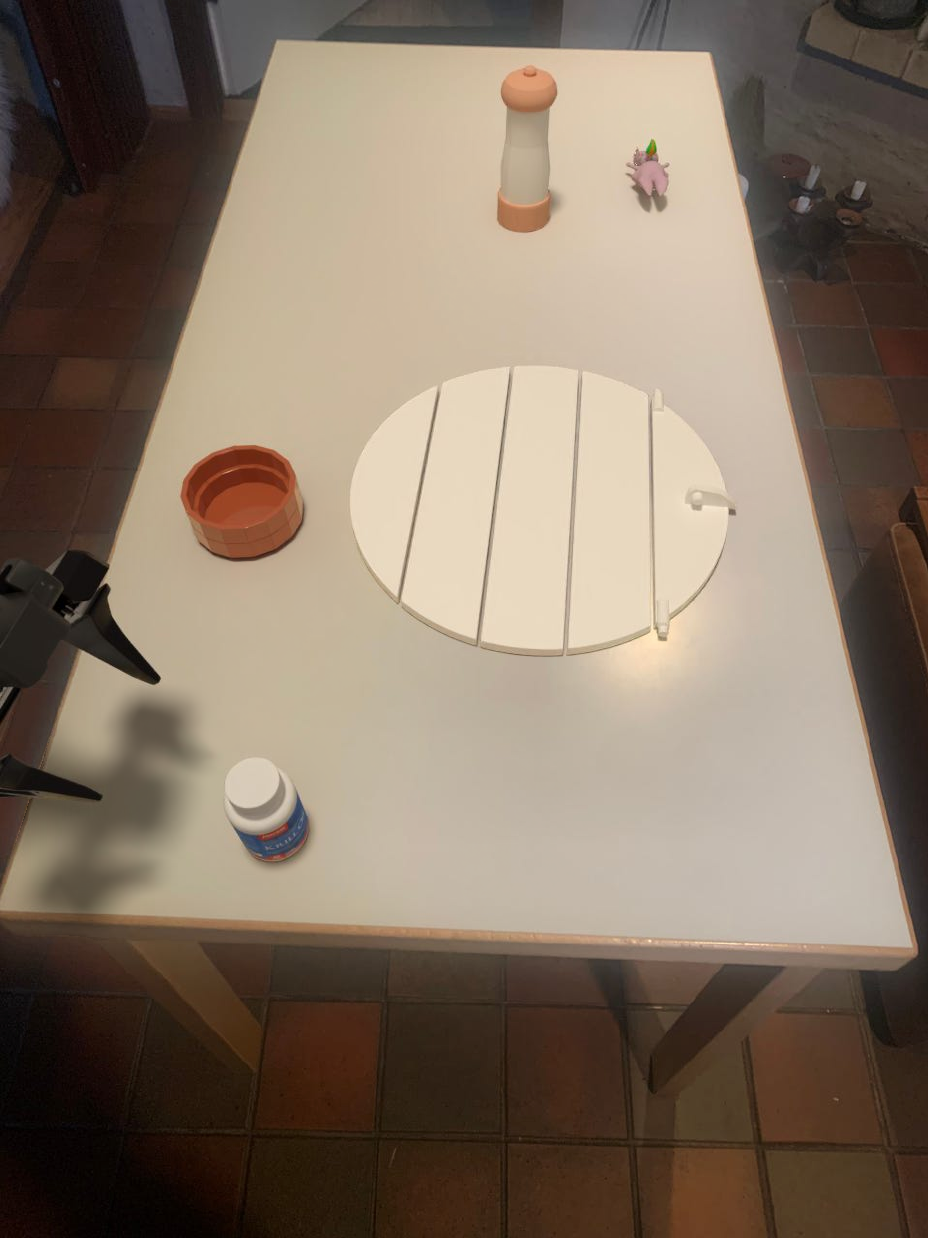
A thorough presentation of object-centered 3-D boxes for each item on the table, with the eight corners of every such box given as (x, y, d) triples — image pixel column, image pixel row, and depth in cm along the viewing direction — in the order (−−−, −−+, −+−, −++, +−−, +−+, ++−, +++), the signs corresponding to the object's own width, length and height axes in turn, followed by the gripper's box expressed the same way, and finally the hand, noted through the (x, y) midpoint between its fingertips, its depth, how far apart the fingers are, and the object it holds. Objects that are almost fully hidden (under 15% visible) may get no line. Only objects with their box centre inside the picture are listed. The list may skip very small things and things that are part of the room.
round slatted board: (723, 385, 98) (730, 361, 95) (748, 675, 76) (758, 655, 73) (384, 363, 101) (381, 339, 98) (315, 636, 79) (309, 615, 76)
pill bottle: (277, 876, 66) (249, 834, 58) (229, 836, 68) (196, 790, 60) (324, 823, 69) (303, 775, 61) (277, 786, 71) (251, 735, 63)
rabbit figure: (621, 168, 127) (630, 208, 116) (626, 124, 122) (636, 161, 112) (662, 169, 127) (675, 208, 116) (669, 125, 122) (683, 161, 112)
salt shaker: (544, 201, 120) (554, 50, 104) (553, 230, 116) (565, 78, 100) (493, 205, 119) (496, 54, 103) (500, 234, 115) (504, 82, 99)
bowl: (174, 544, 85) (159, 511, 81) (228, 468, 91) (216, 434, 87) (273, 573, 83) (262, 541, 79) (321, 493, 89) (314, 460, 85)
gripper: (-177, 735, 40) (116, 859, 48) (21, 459, 50) (237, 598, 58) (-209, 769, 48) (49, 871, 56) (-31, 523, 58) (166, 638, 66)
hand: (130, 738), depth 58 cm, fingers open, 9 cm apart
